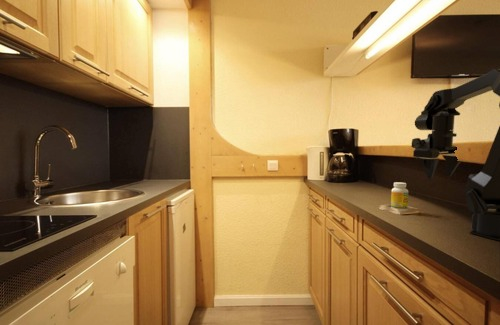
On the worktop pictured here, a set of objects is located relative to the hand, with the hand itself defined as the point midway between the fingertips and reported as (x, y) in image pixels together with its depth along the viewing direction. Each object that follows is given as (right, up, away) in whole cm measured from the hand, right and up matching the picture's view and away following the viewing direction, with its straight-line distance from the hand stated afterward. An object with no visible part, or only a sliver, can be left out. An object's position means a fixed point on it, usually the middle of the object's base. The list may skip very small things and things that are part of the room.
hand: (439, 177), depth 88 cm
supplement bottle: (-9, -12, +8) cm, 17 cm away
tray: (-9, -13, +9) cm, 18 cm away
